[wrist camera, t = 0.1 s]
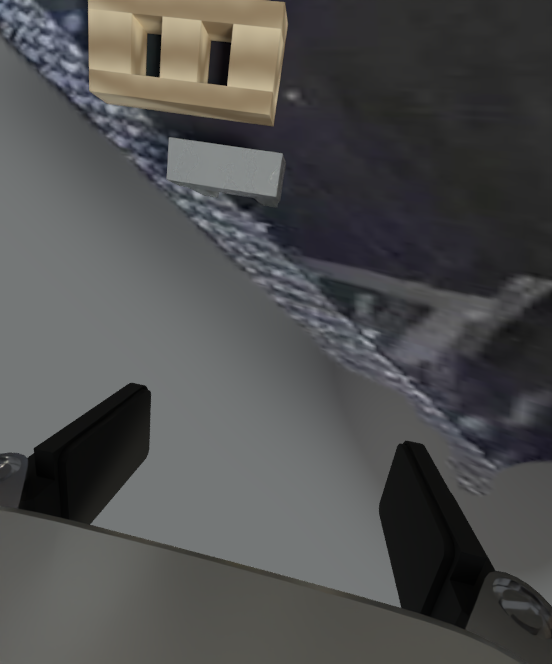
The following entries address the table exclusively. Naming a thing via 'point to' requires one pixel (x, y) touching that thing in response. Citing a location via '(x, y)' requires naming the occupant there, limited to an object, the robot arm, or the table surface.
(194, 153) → the brushed steel block
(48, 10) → the table surface
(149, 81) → the birch rail
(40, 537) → the robot arm
